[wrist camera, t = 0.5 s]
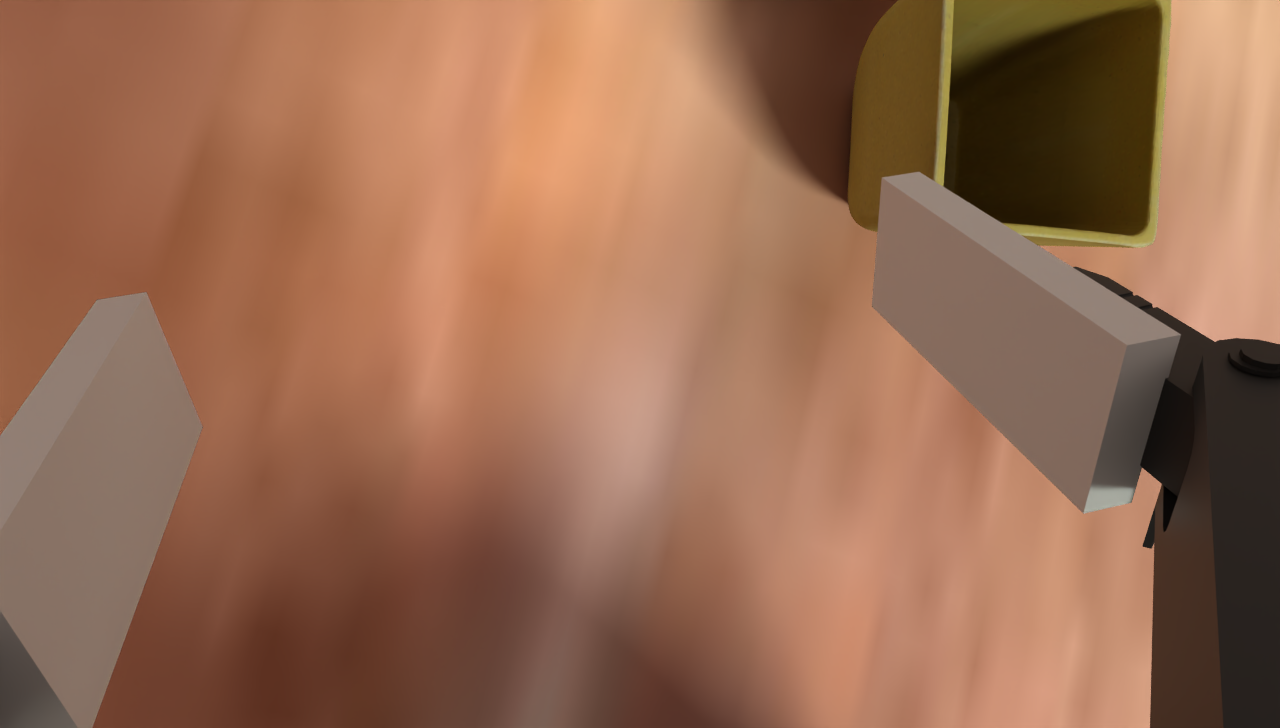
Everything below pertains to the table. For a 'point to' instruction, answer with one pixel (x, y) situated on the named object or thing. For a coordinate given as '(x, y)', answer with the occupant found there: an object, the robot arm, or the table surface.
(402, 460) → the table surface
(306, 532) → the table surface
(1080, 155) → the flower pot
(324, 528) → the table surface
